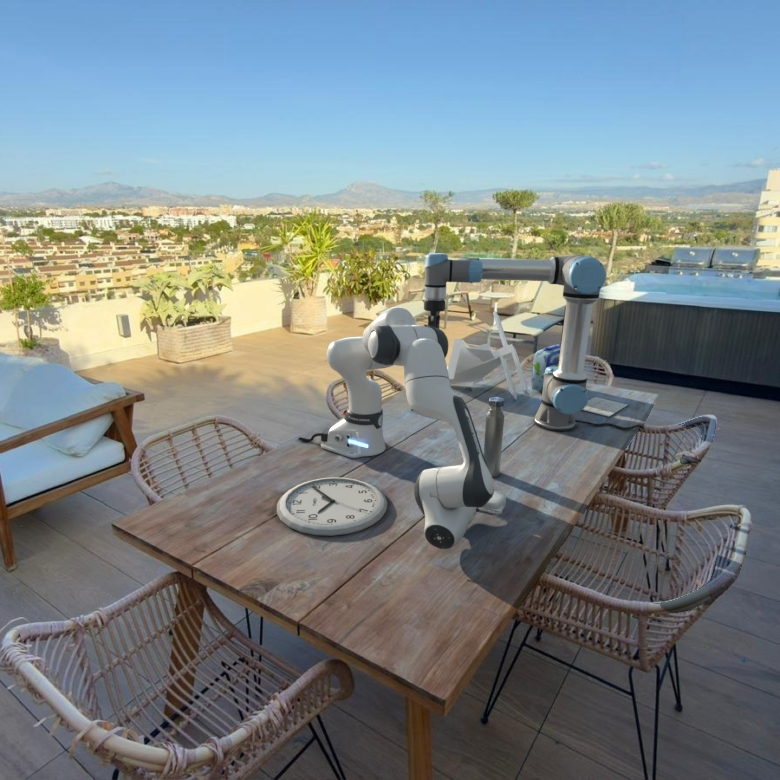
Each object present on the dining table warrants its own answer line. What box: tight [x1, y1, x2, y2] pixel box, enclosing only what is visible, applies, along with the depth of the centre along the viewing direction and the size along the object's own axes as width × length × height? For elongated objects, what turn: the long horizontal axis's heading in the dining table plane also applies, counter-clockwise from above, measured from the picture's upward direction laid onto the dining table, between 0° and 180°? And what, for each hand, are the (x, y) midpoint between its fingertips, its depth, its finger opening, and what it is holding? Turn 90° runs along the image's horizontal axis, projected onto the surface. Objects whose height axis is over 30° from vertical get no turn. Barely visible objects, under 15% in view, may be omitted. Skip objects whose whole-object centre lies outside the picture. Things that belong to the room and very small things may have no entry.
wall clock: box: [276, 476, 388, 537], centre depth 142 cm, size 30×2×30 cm
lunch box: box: [530, 344, 561, 393], centre depth 247 cm, size 26×11×21 cm, turn 134°
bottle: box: [483, 406, 505, 478], centre depth 160 cm, size 5×5×24 cm
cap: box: [488, 396, 505, 408], centre depth 156 cm, size 4×4×2 cm
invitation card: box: [582, 396, 629, 418], centre depth 226 cm, size 21×1×15 cm
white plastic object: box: [447, 310, 531, 400], centre depth 245 cm, size 37×45×31 cm
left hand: (474, 482), depth 144 cm, fingers open, 8 cm apart
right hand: (432, 358), depth 188 cm, fingers open, 13 cm apart
